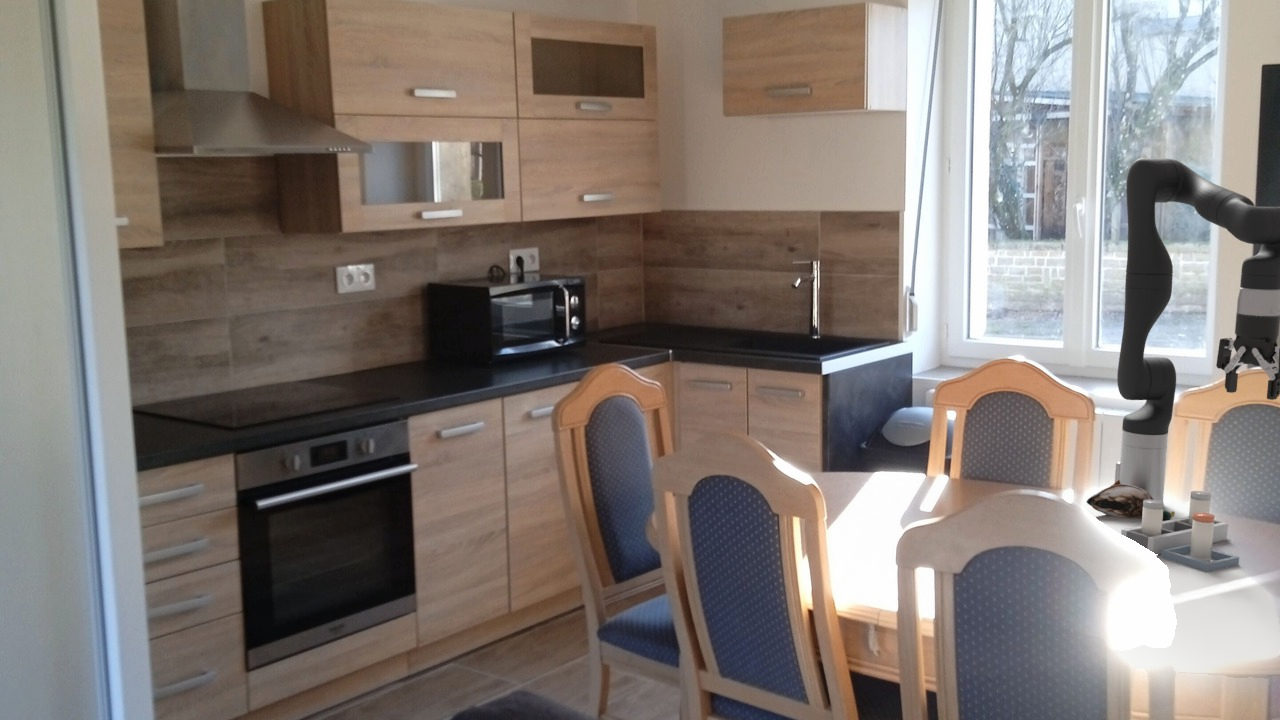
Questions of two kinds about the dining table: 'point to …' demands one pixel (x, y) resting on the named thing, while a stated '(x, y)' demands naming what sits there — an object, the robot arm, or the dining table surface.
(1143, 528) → the fuse
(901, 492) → the dining table surface
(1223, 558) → the tray
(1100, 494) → the decorative duck model
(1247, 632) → the dining table surface
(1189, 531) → the grey compartment rack
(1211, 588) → the dining table surface
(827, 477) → the dining table surface
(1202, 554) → the cylinder
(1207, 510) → the white domed part
